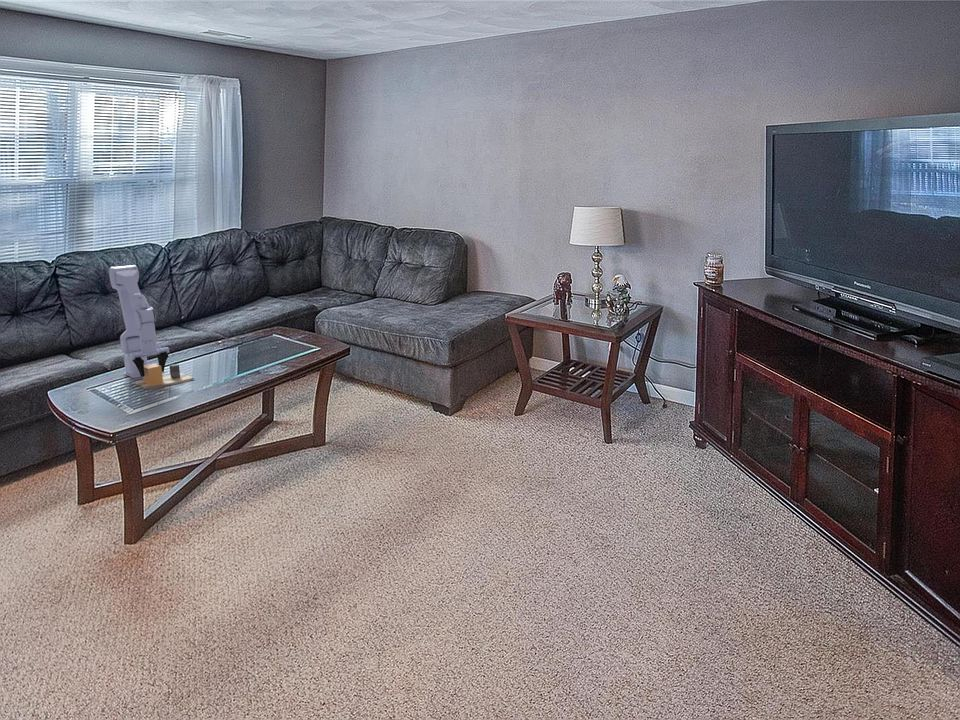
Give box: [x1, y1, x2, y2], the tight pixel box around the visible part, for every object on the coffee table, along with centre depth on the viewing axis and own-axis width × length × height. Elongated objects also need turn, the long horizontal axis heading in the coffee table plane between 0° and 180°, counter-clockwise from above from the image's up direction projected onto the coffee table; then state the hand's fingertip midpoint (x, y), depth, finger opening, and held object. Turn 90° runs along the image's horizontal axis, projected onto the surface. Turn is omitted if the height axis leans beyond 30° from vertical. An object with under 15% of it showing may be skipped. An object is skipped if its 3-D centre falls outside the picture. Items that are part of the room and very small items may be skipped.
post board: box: [134, 363, 195, 391], centre depth 289 cm, size 12×18×6 cm, turn 139°
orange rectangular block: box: [142, 363, 163, 385], centre depth 286 cm, size 5×5×7 cm
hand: (152, 373), depth 286 cm, fingers open, 7 cm apart
